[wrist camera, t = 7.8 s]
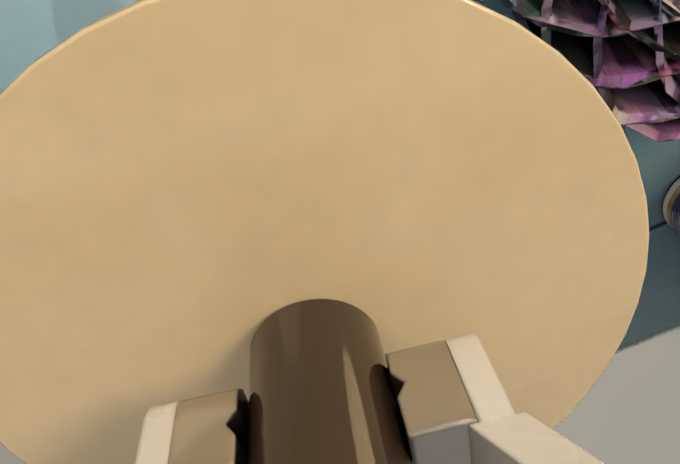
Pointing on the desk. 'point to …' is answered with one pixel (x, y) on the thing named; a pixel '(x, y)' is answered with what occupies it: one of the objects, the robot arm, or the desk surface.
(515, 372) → the pot lid
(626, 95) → the decorative bowl
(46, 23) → the desk surface
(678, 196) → the pill bottle
